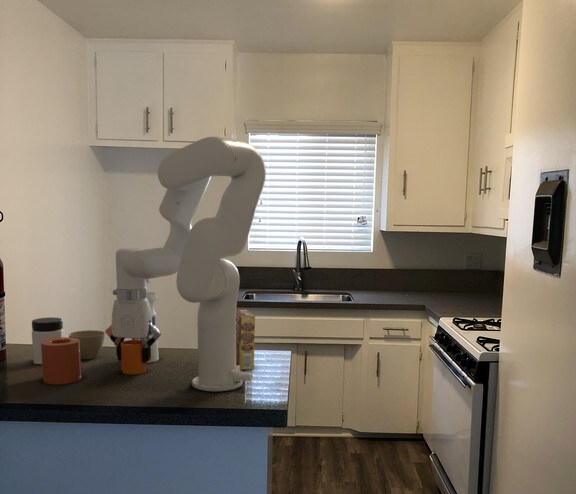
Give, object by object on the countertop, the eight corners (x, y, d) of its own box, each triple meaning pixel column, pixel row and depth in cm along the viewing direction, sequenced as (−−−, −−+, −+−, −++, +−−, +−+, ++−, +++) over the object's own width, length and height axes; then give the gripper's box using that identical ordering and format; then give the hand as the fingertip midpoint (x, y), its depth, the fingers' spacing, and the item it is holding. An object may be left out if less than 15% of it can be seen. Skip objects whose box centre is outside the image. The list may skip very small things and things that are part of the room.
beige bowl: (95, 362, 177) (94, 337, 176) (63, 360, 179) (61, 336, 178) (111, 354, 187) (110, 330, 186) (81, 352, 189) (80, 329, 188)
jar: (58, 356, 184) (56, 316, 182) (70, 361, 179) (68, 320, 177) (28, 361, 178) (25, 319, 176) (39, 366, 173) (36, 324, 171)
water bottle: (126, 358, 183) (123, 273, 179) (154, 354, 187) (152, 271, 183) (133, 364, 176) (130, 276, 172) (163, 361, 180) (160, 274, 176)
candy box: (255, 369, 172) (255, 314, 169) (240, 370, 170) (239, 315, 168) (248, 361, 180) (248, 309, 178) (233, 362, 179) (233, 309, 176)
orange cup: (150, 368, 171) (149, 340, 170) (139, 375, 165) (138, 345, 164) (129, 367, 173) (128, 338, 172) (117, 373, 167) (116, 344, 165)
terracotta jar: (88, 375, 164) (86, 338, 162) (68, 385, 155) (66, 346, 154) (57, 373, 166) (55, 336, 165) (35, 382, 157) (33, 344, 156)
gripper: (94, 295, 164) (97, 361, 167) (155, 298, 160) (157, 366, 163) (109, 291, 171) (111, 355, 174) (168, 294, 167) (169, 359, 170)
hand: (133, 360), depth 169 cm, fingers closed on orange cup, 6 cm apart
